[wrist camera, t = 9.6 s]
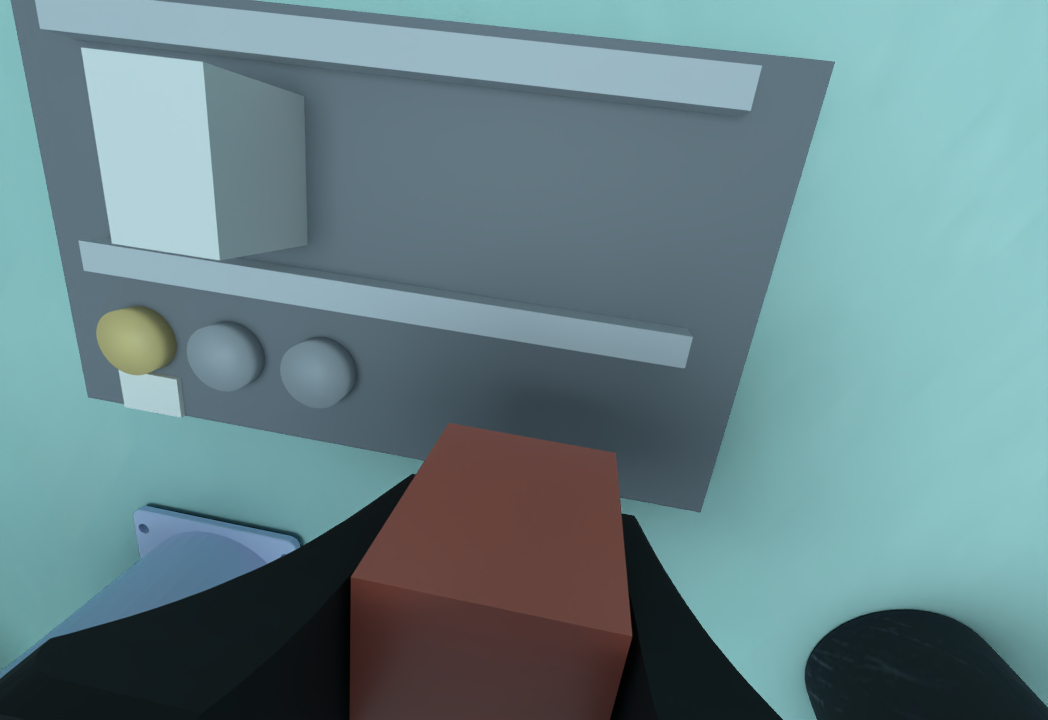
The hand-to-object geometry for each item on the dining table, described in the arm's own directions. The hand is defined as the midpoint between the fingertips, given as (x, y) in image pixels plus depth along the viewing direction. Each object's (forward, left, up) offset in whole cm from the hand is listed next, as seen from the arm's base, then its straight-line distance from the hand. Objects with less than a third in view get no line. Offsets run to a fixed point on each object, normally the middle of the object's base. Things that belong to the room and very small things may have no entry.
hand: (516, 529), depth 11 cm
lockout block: (0, 0, -1) cm, 1 cm away
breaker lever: (+7, +10, -6) cm, 14 cm away
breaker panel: (+5, +6, -7) cm, 11 cm away
